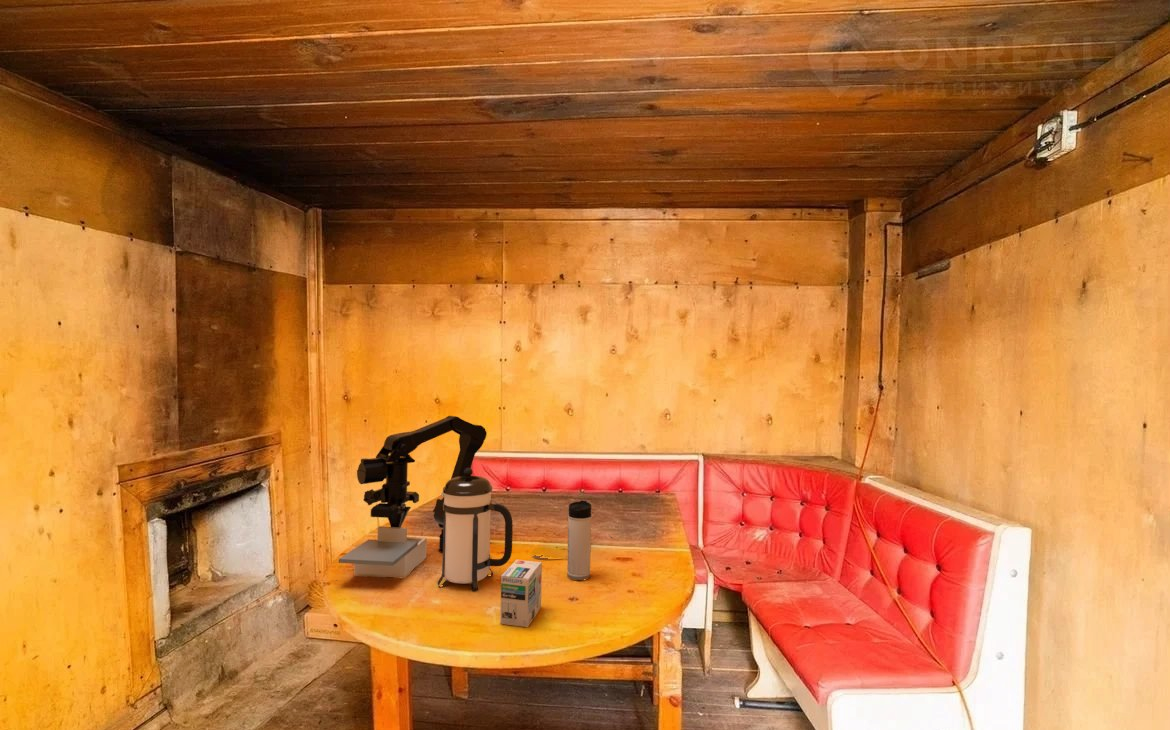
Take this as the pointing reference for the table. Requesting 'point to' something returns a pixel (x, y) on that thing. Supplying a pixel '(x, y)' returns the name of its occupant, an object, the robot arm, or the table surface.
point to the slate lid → (381, 548)
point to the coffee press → (470, 530)
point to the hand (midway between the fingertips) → (395, 533)
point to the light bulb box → (521, 593)
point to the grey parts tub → (400, 567)
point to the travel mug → (579, 540)
